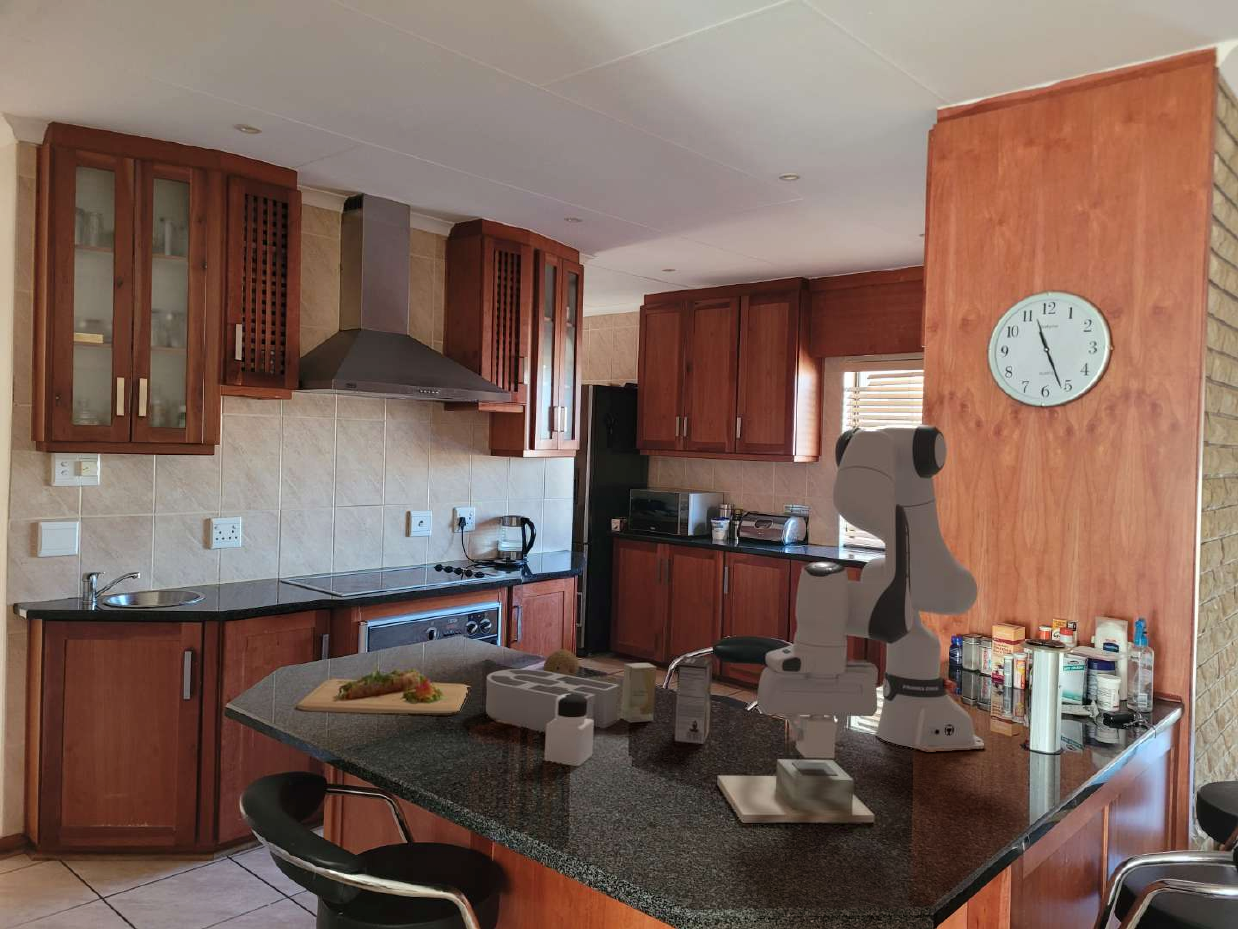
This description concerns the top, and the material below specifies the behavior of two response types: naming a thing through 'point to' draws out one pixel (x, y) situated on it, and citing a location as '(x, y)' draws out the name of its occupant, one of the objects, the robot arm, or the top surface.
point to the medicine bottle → (569, 732)
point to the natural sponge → (562, 663)
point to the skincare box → (638, 692)
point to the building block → (816, 736)
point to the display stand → (796, 794)
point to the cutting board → (386, 694)
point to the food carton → (693, 699)
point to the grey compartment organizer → (546, 697)
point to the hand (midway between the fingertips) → (815, 740)
